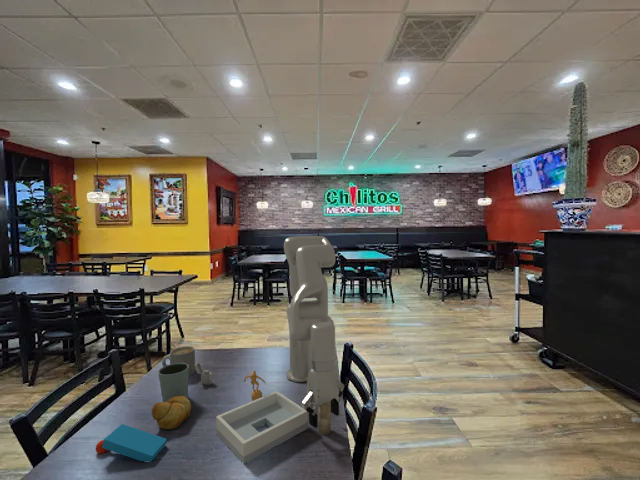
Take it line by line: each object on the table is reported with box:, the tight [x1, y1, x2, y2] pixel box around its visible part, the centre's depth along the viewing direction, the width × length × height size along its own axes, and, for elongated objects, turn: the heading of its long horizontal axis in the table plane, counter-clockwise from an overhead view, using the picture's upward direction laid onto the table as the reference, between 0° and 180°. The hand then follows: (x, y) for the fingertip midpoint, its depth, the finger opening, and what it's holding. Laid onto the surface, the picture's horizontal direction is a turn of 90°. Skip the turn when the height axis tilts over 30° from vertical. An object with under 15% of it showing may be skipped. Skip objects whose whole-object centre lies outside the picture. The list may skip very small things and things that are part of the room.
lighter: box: [194, 362, 213, 386], centre depth 129 cm, size 7×2×8 cm, turn 76°
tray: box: [215, 390, 309, 464], centre depth 97 cm, size 22×17×6 cm
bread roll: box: [151, 396, 192, 430], centre depth 103 cm, size 13×10×8 cm
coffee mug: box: [161, 345, 196, 376], centre depth 139 cm, size 13×10×10 cm
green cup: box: [157, 363, 189, 402], centre depth 116 cm, size 10×10×12 cm
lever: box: [95, 423, 168, 463], centre depth 89 cm, size 7×7×18 cm
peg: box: [317, 400, 331, 436], centre depth 96 cm, size 4×4×10 cm
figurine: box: [243, 370, 267, 401], centre depth 113 cm, size 8×6×12 cm
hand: (324, 419), depth 96 cm, fingers open, 8 cm apart
